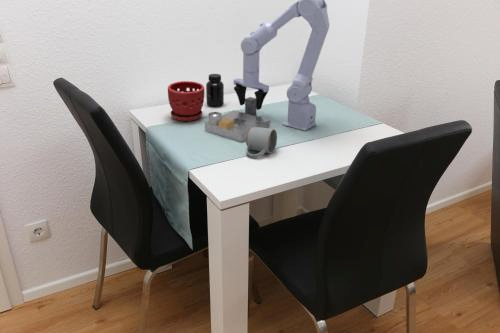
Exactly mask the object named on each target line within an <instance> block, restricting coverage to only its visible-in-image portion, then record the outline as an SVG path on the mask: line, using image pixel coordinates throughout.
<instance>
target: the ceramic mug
mask: <svg viewBox="0 0 500 333" xmlns="http://www.w3.org/2000/svg"><path fill="white" fill-rule="evenodd" d="M277 144H278V132H277V130H276V129H275V128H271V127H270V128H260V127H252V128H250V129H249V130H248V132H247V135H246V140H245V145H246V151H245V152H246V155H247V156H248V158H250V159H258V158H261V157H262V156H264V155H265V153H266V154H273V153H274V151H275V150H276V147H277ZM249 150H252V151H257V152H258V153H254V154H252V153H250V152H249Z"/></svg>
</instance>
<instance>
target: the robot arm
mask: <svg viewBox="0 0 500 333" xmlns="http://www.w3.org/2000/svg"><path fill="white" fill-rule="evenodd" d="M328 15H329V14H328V4H327V2H326V0H298V1H295V2H294V3H293V4H291V5H290V6H289V7H287V9H285V11H283V12H282V13H281V14H279V16H277V17H276V18H275V19H274V20H273V21H272V22H270V21H266V22H261V23H260V24H259V27H258V28H257V29H255V31H250V33H249V34H250V36H246V37H243V40H241V43H240V49H241V52H242V53H243V56H242V58H243V59H242V78H235V79H233V85H234V87H233V89H234V92H235V93H236V95H237V98H238V102H239V106H243V105H244V106H245V99H246V93H247V88H249V89H254V90H256V91H254V96H255V98H256V111H259V110H261V109H262V107H263V104H264V100H265V98H266V97H267V94H268V93H269V91H270V86H269V85H268V84H265V83H262V82H260V51H261V50H262V48H263V47H264V46H266V45H267V44H268V43H269V42H270V41H271V40H273V39H274V38H276V37H277V36H278V30H279V29H281V28H282V27H283V26H285V25H286V24H287V23H289V22H290V21H292V20H293V19H294V18H300V17H302V18H303V19H304V20H305V21H306V22H308V24H309V26H310V28H311V32H310V35H309V39H308V42H307V44H306V47H305V50H304V54H303V56H302V58H301V62H300V64H299V68H298V70H297V74H296V75H295V77H294V79H293V81H292V84H291V85H290V86H289V87H288V88H287V90H286V97H287V100H288V106H287V107H288V108H287V120H286V121H284V122H283V123H282V125H283V126H286V127H290V128H293V129H296V130H301V131H304V132H305V131H307V130H309V129H310V128H312V127H314V126H316V125H317V123H316V119H317V118H316V116H317V106H316V104H315V103H312V102H311V101H310V98H309V95H310V94H311V92H312V91H313V86H312V82H313V79H314V78H313V74H314V71H315V69H316V66H317V64H318V61H319V57H320V54H321V51H322V48H323V46H324V44H325V41H326V37H327V34H328V32H329V29H330V21H329V16H328Z"/></svg>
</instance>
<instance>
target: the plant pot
mask: <svg viewBox="0 0 500 333" xmlns="http://www.w3.org/2000/svg"><path fill="white" fill-rule="evenodd" d="M188 89H189V90H188ZM167 97H168V104H169V106H170V108H171V111H170V115H171V117H172V118H173V119H175V120H178V121H180V122H181V121H182V122H192V121H195V120H198V119H199V118H201V117H202V115H203V110H202V109H203V106H204V102H205V86H204V84H202V83H200V82H196V81H189V80H186V81H185V80H184V81H175V82H172V83H170V84H169V85H168V86H167Z"/></svg>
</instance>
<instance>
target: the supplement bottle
mask: <svg viewBox="0 0 500 333" xmlns="http://www.w3.org/2000/svg"><path fill="white" fill-rule="evenodd" d="M205 85H206V86H205V90H206V96H205V97H206V98H205V99H206V100H205V101H206V106H208V107H210V108H221V107H223V106H224V104H225V103H224V96H225V95H224V94H225V93H224V91H225V90H224V83H223V81H222V75H221V74H219V73H210V74H208V81H207V82H206V84H205Z"/></svg>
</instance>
